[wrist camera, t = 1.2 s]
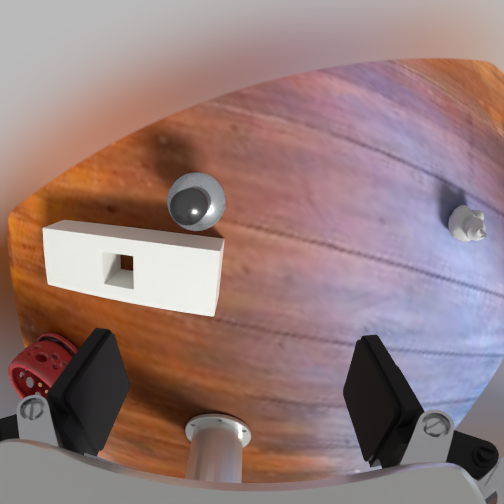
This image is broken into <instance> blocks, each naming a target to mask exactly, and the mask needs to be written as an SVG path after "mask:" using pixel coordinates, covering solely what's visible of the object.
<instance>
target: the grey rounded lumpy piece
mask: <svg viewBox="0 0 504 504" xmlns="http://www.w3.org/2000/svg"><path fill="white" fill-rule="evenodd" d="M483 219H484V214H483V212H482V211H475V210H470V208H469V207H468V206H466V205H460V206H459V207H457V208H456V209H455V210H454V211H453V213H452V214H451V216H450V218H449V231H450V234H451V236H452V237H454V238H456V239H459V240H461V241H465V242H468V241H470V240H480V239H482V238H486V236H487V235H486V233H485V225H484V223H483Z"/></svg>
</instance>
